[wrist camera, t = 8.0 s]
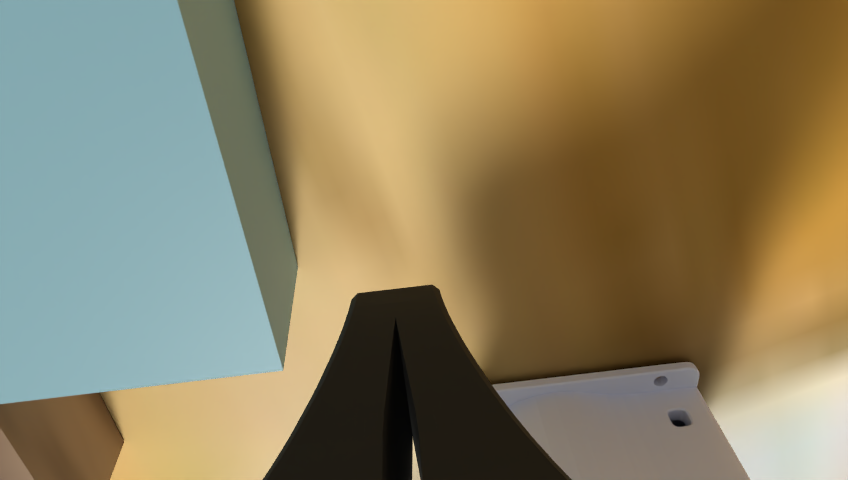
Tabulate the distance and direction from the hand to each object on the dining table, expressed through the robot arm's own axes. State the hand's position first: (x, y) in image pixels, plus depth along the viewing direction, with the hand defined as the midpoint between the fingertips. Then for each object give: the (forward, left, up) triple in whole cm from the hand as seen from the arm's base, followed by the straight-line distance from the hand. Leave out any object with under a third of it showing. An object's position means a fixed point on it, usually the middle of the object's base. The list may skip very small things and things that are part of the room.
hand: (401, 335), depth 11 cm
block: (+8, 0, -10) cm, 12 cm away
